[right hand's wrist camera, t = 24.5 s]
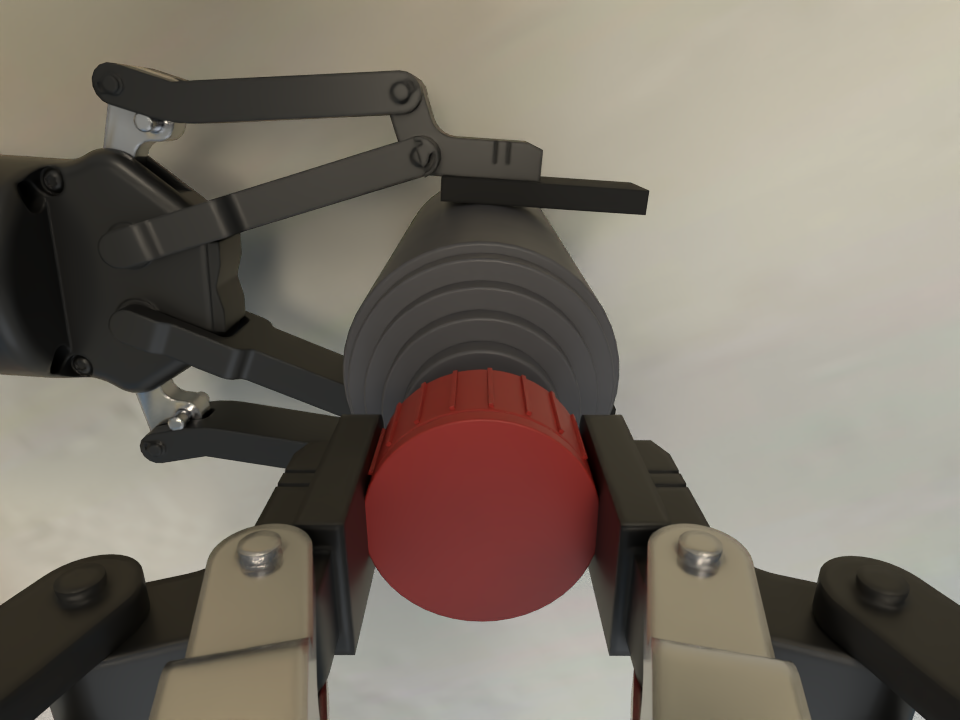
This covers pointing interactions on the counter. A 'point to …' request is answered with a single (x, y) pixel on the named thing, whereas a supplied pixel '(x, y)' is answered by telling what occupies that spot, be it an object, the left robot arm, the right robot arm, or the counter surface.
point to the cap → (481, 497)
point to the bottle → (480, 312)
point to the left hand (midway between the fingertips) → (620, 306)
